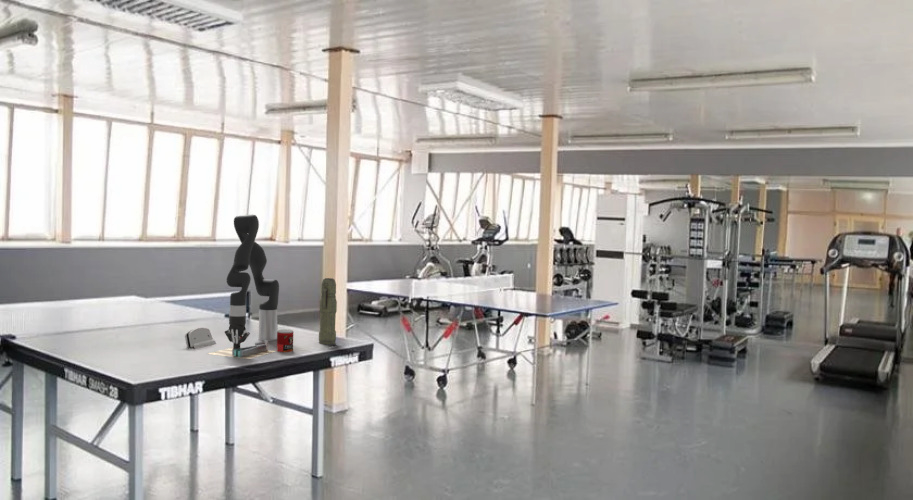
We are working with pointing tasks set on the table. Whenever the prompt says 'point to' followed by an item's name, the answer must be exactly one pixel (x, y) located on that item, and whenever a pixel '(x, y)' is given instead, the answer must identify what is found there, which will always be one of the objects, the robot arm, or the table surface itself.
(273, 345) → the table surface
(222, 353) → the board
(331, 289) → the green moai statue
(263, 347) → the tongs fixed
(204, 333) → the grey curved block
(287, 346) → the canned food
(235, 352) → the tong arm
